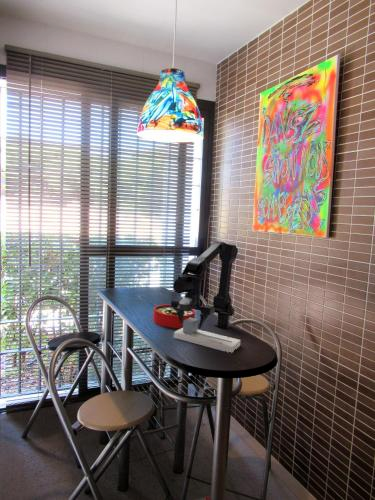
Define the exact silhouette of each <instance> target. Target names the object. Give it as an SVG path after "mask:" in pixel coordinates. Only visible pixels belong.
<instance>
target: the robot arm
mask: <svg viewBox="0 0 375 500" xmlns="http://www.w3.org/2000/svg"><path fill="white" fill-rule="evenodd" d="M238 253H239V249H238V247H237V246H236V244H229V243H226V242H224V241H218V240H215V241H214V242H213V243H212V244H211V246H209V247H208V248H207V249H206V250H205V251H204V252H203V253H201V254H200V255H199V256H197V257H193V258H192V259H190V260H188V262H187V263H186V265H185V267H184V269H183V271H182V273H181V275H178V276H177V279H176V280H175V281H174V283H173V285H172V286H173V289H174V291H175V293H177V294H183V293H185V294H184V297H183V298H182V299H181V298H176V299H173V300H171V302H170V304H169V305H170V307H173V309H174V310H175V311H176V312H177V314H178V317H179V321H180V324H182V323H183V317H184V311H187V312H189V311H191V309H193V310H194V311H195V310H196V311H200V314H199V316H200V320H199V326H198V327H199V328H198V329H199V330H201V329H203V326H204V324H205V322H206V320H207V319H208V318H209V316H211V315H213V314H215V313H217V319H216V323H215V324H214V325H213V326H214V327H216V328H217V327H218V328H221V329H228V328H230V327H231V326H232V324H231V323H230V317H233V315H234V314H235V309H234V307H233V305H232V297H231V295H230V288H231V277H232V270H233V263H234V262H235V261H236V259H237V256H238ZM217 256H218V257H219V259H220V262H221V265H220V267H221V268H220V276H219V284H218V285H219V286H218V292H217V294H216V295H214V296H213V298H212V300H213V301H212V305H210V304H205V305H201V304H202V303H201V301H200V300H201V296H202V291H201V290H202V289H201V288H202V281H203V280H205V277H204V276H203V275H204V273H206V271H208V270H207V269H208V265H209V264H210V263H211V262H212V261H213V260H214V259H215V258H216V257H217Z"/></svg>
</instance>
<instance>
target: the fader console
mask: <svg viewBox="0 0 375 500" xmlns="http://www.w3.org/2000/svg"><path fill="white" fill-rule="evenodd" d="M173 339H177V340H181V341H184V342H188V343H193V344H195V345H196V344H197V345H200V346H203V347H207V348H210V349H214V350H218V351H222V352H225V351H226V353H229V352H231V353H230V354H232V353H234V350H235V349H236V350H237V349H238V348H239V347H240V346H241V339H237V338H233V337H230V336H225V335H222V334H217V333H214V332H210V331H206V330H201V329H198V330H197V331H196V332H194V333H192V334H189V333H185V332H183V328H178V329H177V330H176V331H174V333H173ZM236 350H235V351H236Z"/></svg>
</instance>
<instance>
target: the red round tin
mask: <svg viewBox="0 0 375 500" xmlns="http://www.w3.org/2000/svg"><path fill="white" fill-rule="evenodd" d="M195 314H196V311H195V309H191V311H189V312H187V311H184V317H183V323H184V320H186V319H188V318H190V317H191V318H195V317H196V315H195ZM195 319H196V318H195ZM152 321H153V323H154V324H156V325H159V326H162V327H166V328H171V329H172V328H173V329H181V328H183V323H182V324H180V321H179V317H178V314H177V312H176V311H175V310H174V309H173V307H170V304H160V305H157V306H155V307H154V308H153V318H152Z"/></svg>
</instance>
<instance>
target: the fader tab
mask: <svg viewBox="0 0 375 500" xmlns="http://www.w3.org/2000/svg"><path fill="white" fill-rule="evenodd" d="M198 327H199V319H198V318H191V317H190V318H188V319H186V320H184V323H183V332H185V333H189V334H192V333H194V332H196V331H197V330H199V328H198Z"/></svg>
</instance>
